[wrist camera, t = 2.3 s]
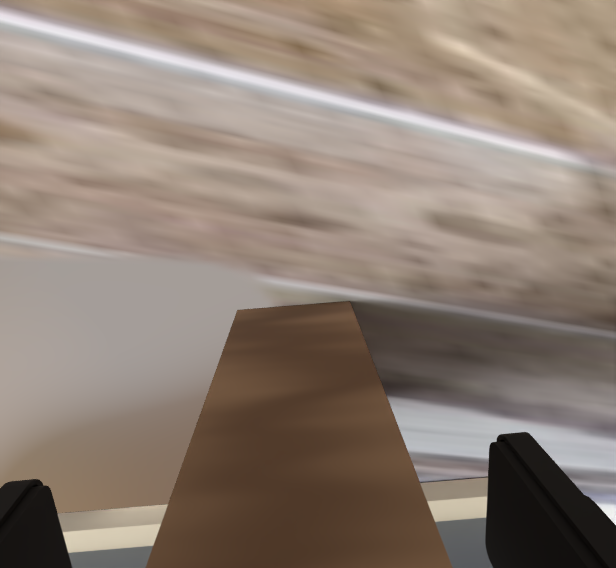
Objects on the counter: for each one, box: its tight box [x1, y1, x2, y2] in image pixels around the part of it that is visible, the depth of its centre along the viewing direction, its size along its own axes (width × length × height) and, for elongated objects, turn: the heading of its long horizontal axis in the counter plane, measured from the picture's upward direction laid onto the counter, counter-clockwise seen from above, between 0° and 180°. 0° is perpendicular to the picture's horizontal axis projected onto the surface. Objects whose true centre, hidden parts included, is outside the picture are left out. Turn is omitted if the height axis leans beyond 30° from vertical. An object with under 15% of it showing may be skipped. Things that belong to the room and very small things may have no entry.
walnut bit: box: [145, 301, 453, 568], centre depth 11 cm, size 4×4×12 cm
